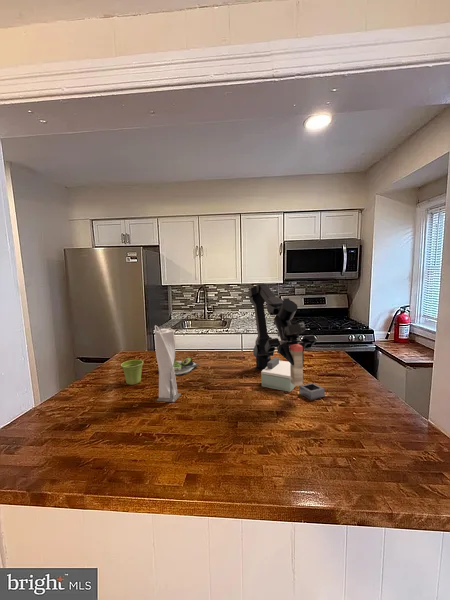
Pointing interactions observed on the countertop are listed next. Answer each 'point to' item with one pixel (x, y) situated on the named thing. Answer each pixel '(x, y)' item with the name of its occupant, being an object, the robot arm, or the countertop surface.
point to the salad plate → (183, 366)
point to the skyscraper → (166, 364)
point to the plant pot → (132, 371)
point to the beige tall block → (296, 364)
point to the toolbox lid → (277, 368)
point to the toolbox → (277, 382)
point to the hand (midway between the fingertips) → (298, 364)
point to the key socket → (311, 391)
